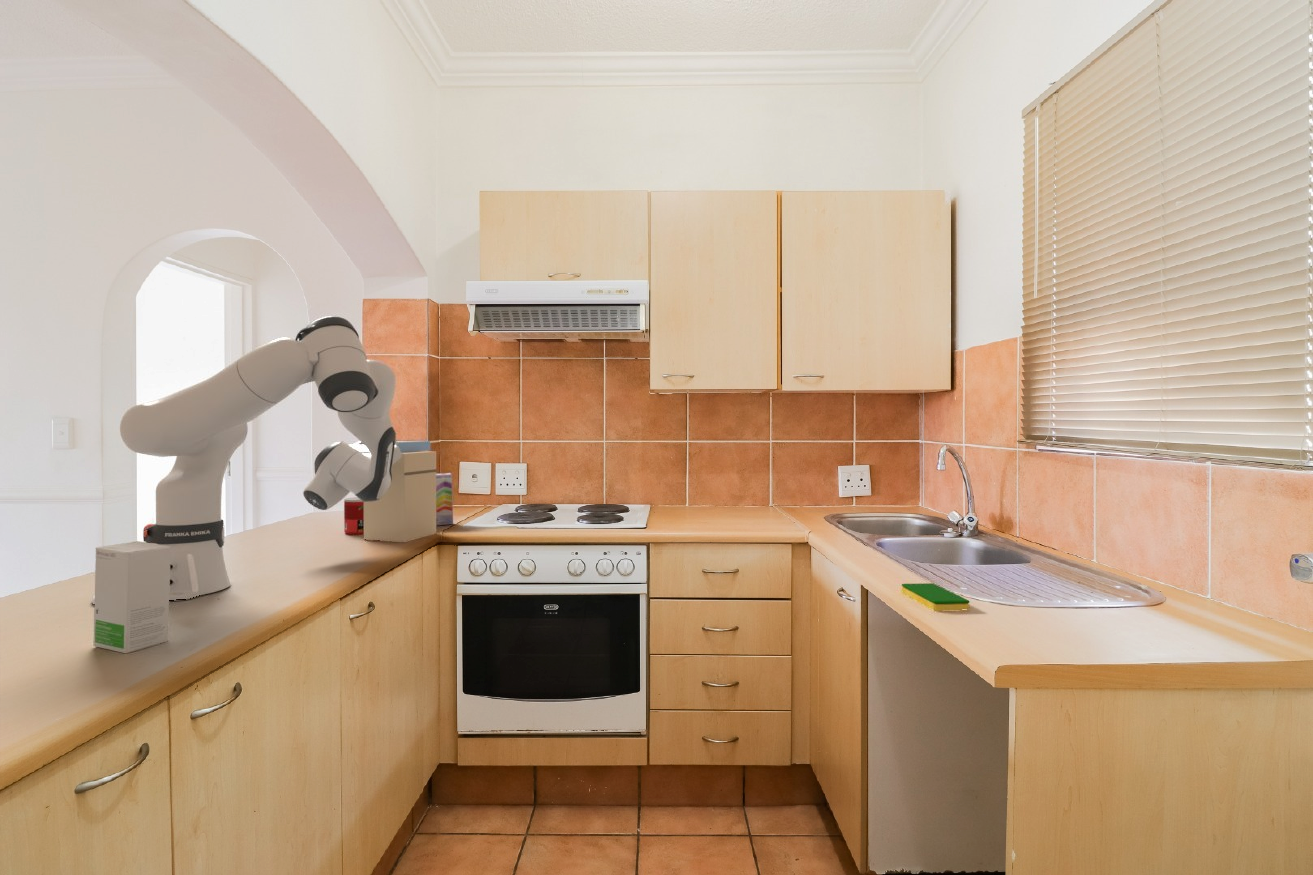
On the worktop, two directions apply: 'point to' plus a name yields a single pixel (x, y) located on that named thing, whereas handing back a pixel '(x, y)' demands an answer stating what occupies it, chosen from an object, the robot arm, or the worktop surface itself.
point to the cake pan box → (444, 499)
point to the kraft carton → (405, 501)
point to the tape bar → (414, 446)
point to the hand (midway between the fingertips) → (380, 441)
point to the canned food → (353, 516)
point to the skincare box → (131, 596)
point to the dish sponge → (935, 597)
